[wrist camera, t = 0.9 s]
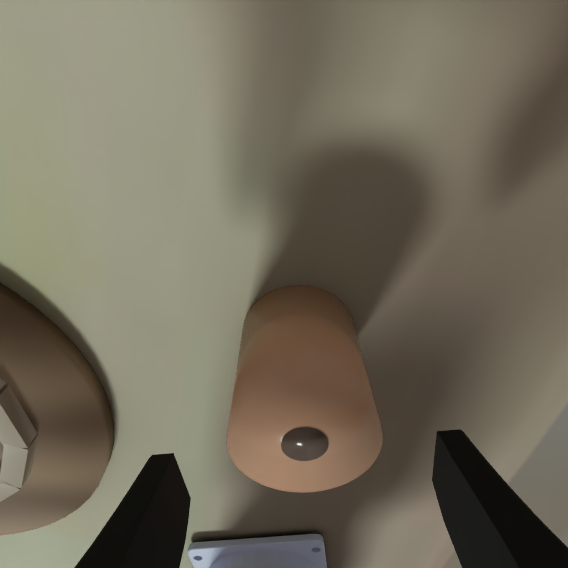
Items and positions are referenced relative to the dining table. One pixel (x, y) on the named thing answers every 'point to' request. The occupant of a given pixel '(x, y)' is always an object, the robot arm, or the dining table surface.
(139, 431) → the dining table surface
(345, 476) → the terracotta bead
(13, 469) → the ring board
